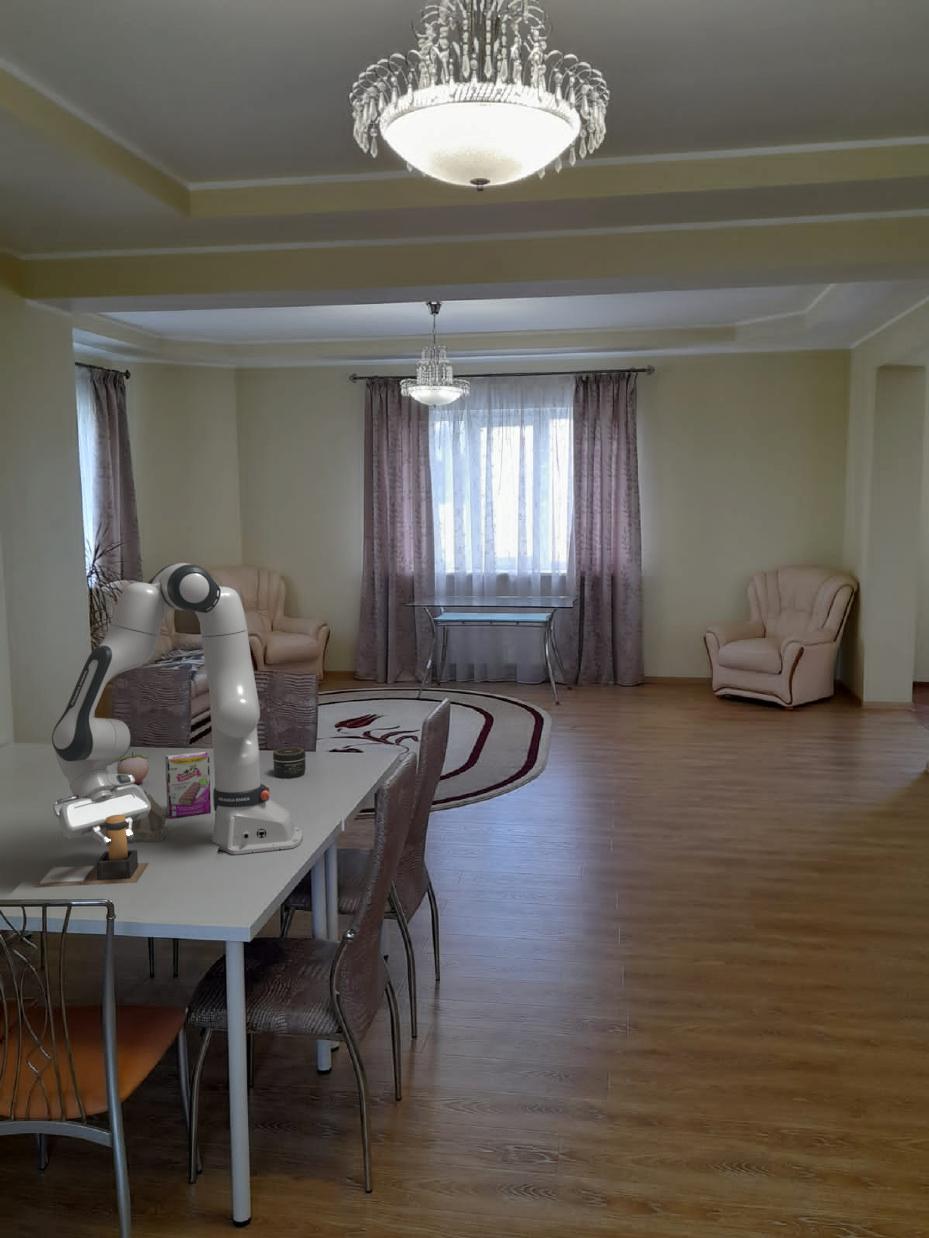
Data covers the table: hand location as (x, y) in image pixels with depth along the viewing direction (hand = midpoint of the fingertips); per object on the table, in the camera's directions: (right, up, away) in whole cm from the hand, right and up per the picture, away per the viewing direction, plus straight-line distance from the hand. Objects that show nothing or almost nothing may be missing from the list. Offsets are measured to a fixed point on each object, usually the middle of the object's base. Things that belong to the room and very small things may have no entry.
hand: (118, 841), depth 218 cm
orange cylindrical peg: (0, -7, +1) cm, 7 cm away
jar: (+23, +1, +86) cm, 89 cm away
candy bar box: (+2, -4, +49) cm, 49 cm away
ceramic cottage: (-6, -6, +33) cm, 34 cm away
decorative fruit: (-23, -1, +77) cm, 80 cm away
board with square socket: (-6, -9, +1) cm, 11 cm away
